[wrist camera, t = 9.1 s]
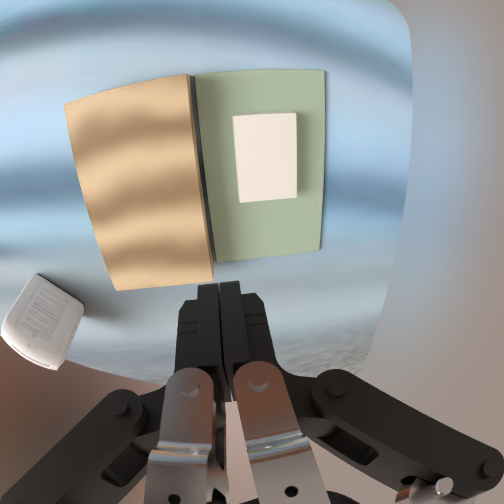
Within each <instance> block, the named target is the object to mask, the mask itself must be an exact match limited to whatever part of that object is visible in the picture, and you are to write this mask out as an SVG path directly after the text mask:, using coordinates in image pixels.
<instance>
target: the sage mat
mask: <svg viewBox="0 0 504 504" xmlns="http://www.w3.org/2000/svg"><path fill="white" fill-rule="evenodd" d="M195 84H196V95H197V105H198V115H199V125H200V135H201V144H202V153H203V161H204V170H205V178H206V186H207V194H208V202H209V210H210V217H211V224H212V232H213V239H214V246H215V252H216V259H217V263H218V262H226V261H235V260H244V259H253V258H262V257H270V256H279V255H288V254H296V253H305V252H313V251H319V246H320V233H321V218H322V201H323V180H324V148H325V83H324V71H323V70H301V69H262V70H240V71H226V72H215V73H206V74H197V75H195ZM280 111H292V112H294V113H296V131H297V198H287V199H276V200H265V201H254V202H244V203H240V201H239V197H238V185H237V173H236V160H235V148H234V135H233V121H232V114H242V113H257V112H280Z"/></svg>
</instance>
